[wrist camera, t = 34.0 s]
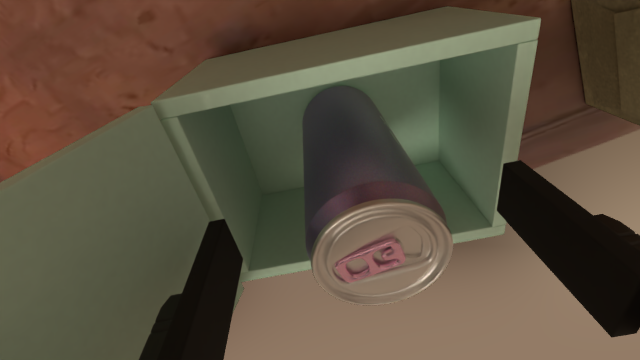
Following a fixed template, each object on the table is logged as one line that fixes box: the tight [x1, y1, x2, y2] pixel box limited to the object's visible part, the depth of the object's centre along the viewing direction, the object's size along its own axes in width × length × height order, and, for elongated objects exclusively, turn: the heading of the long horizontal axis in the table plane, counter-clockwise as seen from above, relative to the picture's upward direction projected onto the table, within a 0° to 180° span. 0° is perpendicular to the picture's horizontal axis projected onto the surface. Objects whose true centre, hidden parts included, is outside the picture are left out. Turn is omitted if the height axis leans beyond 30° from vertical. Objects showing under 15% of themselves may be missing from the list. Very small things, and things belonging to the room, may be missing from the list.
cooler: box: [151, 6, 541, 282], centre depth 21 cm, size 18×13×10 cm
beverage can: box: [302, 86, 453, 306], centre depth 18 cm, size 6×6×15 cm
